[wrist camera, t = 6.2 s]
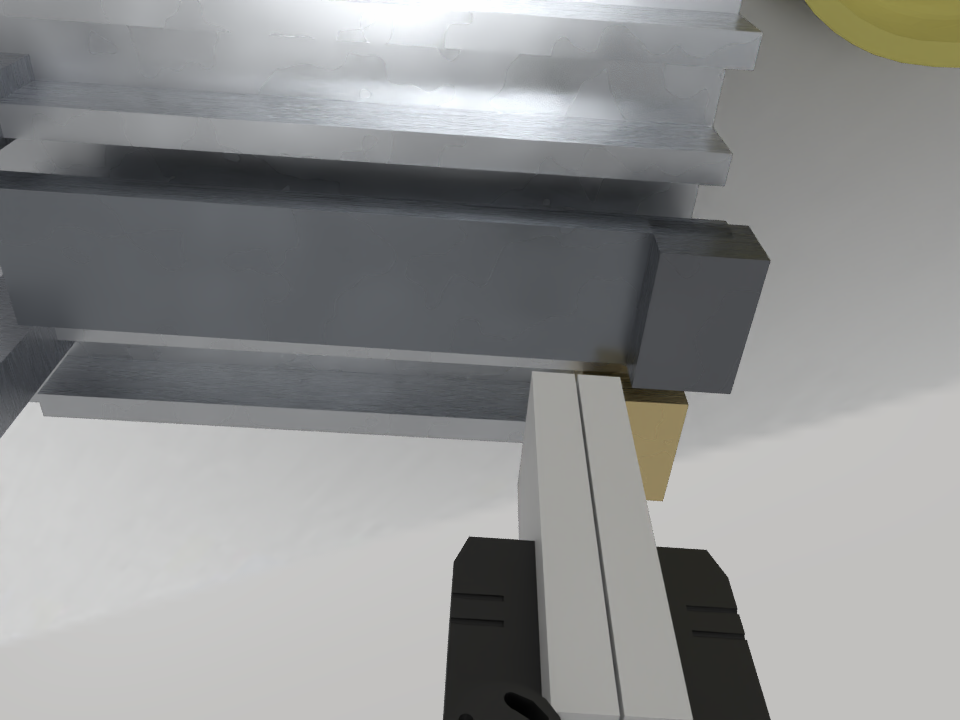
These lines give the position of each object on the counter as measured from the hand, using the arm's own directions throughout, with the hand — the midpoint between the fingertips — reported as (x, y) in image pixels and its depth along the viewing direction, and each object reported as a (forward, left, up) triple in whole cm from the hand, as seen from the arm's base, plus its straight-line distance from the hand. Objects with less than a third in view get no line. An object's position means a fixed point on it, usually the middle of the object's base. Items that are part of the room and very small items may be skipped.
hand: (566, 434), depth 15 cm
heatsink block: (+6, 0, -15) cm, 16 cm away
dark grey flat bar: (+4, 0, -6) cm, 8 cm away
